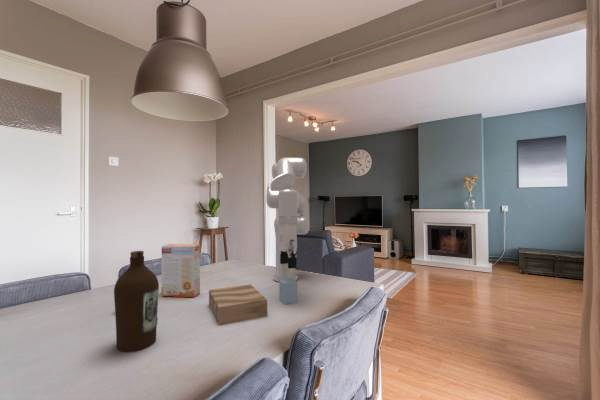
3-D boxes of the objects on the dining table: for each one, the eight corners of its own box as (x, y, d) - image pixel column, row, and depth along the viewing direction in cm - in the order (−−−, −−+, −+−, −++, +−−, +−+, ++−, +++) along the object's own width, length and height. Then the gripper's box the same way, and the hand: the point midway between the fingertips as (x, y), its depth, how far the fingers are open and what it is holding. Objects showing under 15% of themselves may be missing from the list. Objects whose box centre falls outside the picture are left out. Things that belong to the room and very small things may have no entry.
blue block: (279, 300, 114) (279, 279, 114) (292, 298, 116) (292, 278, 116) (283, 304, 108) (283, 283, 108) (297, 302, 110) (297, 281, 110)
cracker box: (200, 293, 122) (200, 243, 122) (193, 298, 116) (194, 245, 116) (169, 292, 123) (169, 243, 123) (160, 297, 117) (160, 245, 117)
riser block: (209, 305, 109) (209, 289, 109) (250, 299, 115) (250, 284, 116) (218, 326, 91) (218, 307, 91) (267, 317, 97) (267, 299, 98)
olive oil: (104, 353, 74) (104, 255, 74) (130, 334, 84) (130, 248, 84) (144, 353, 73) (145, 255, 73) (165, 334, 84) (165, 248, 84)
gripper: (272, 220, 119) (272, 262, 118) (285, 222, 103) (285, 270, 102) (289, 220, 121) (290, 261, 121) (305, 222, 105) (305, 269, 105)
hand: (288, 265), depth 111 cm, fingers open, 9 cm apart
